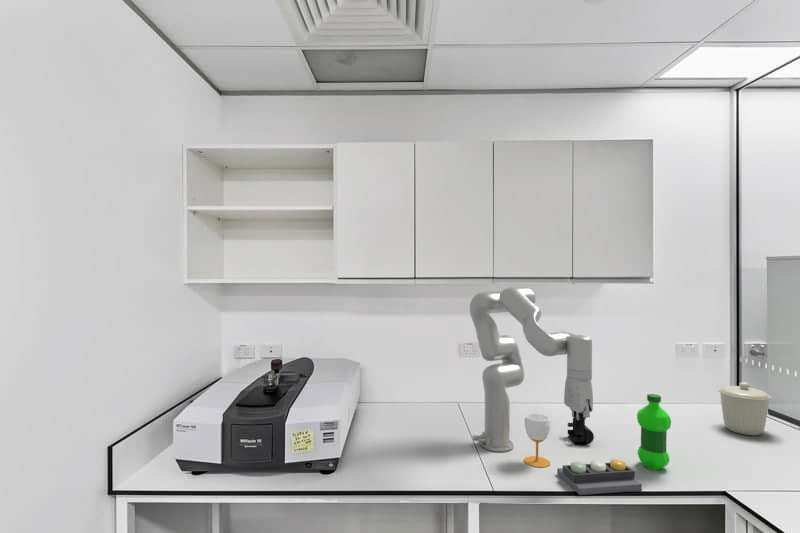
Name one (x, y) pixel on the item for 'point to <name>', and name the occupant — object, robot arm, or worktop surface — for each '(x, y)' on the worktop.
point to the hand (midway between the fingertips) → (578, 430)
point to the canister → (744, 409)
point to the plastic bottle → (653, 434)
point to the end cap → (580, 436)
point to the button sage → (578, 468)
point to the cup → (537, 436)
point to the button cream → (598, 466)
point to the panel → (600, 480)
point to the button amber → (618, 465)
